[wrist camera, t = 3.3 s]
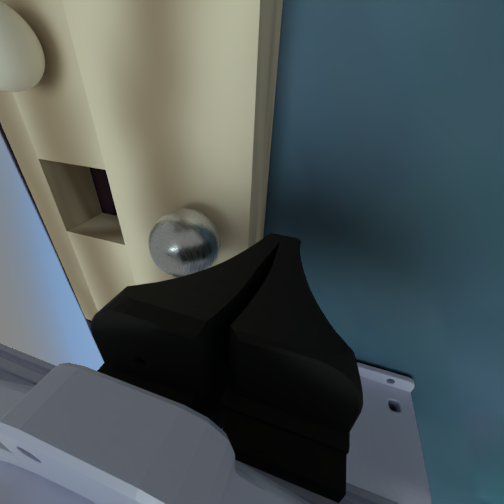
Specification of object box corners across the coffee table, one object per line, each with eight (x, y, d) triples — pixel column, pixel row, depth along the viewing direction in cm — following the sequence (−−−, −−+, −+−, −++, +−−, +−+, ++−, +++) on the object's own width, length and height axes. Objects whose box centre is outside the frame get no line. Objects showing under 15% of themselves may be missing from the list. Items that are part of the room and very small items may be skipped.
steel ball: (231, 204, 12) (198, 236, 9) (231, 260, 14) (203, 301, 11) (170, 193, 13) (124, 220, 10) (177, 248, 14) (140, 283, 12)
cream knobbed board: (289, -79, 9) (266, -139, 7) (254, 338, 21) (242, 370, 19) (-4, -52, 12) (-91, -87, 10) (112, 295, 24) (85, 318, 22)
